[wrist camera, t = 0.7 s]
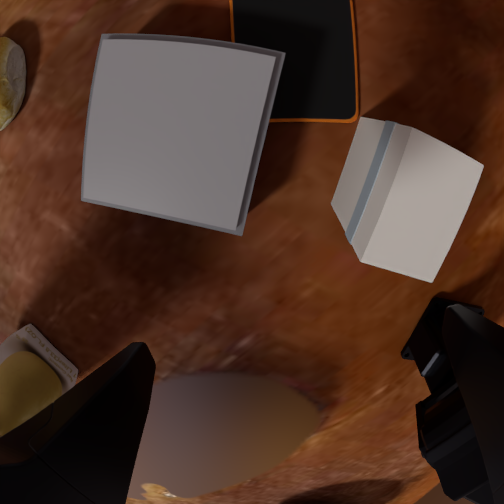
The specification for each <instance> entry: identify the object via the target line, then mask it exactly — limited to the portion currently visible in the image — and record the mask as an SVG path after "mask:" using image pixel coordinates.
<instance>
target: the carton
mask: <svg viewBox="0 0 504 504" xmlns="http://www.w3.org/2000/svg"><path fill="white" fill-rule="evenodd" d="M483 167H484V165H482V164H481V163H479V162H477V161H476V160H474V159H472V158H470V157H469V156H467V155H465V154H463V153H462V152H460V151H458V150H456V149H454V148H453V147H451V146H449V145H447V144H445V143H443V142H441V141H439V140H437V139H435V138H433V137H431V136H429V135H427V134H425V133H423V132H421V131H419V130H417V129H415V128H413V127H409V126H405V125H400V124H398V123H396V122H392V121H387V120H386V121H381V120H376V119H370V118H365V117H360V120H359V123H358V126H357V129H356V132H355V135H354V138H353V141H352V144H351V147H350V150H349V153H348V156H347V159H346V162H345V165H344V168H343V171H342V174H341V177H340V179H339V182H338V185H337V188H336V191H335V194H334V196H333V199H332V202H331V205H332V207H333V209H334V211H335V213H336V215H337V217H338V219H339V221H340V222H341V224H342V226H343V228H344V230H345V235H346V237H347V239H348V241H349V243H350V244H352V246H353V248H354V250H355V252H356V254H357V256H358V258H359V260H360V262H363V263H366V264H369V265H373V266H376V267H380V268H383V269H387V270H390V271H393V272H397V273H400V274H404V275H407V276H410V277H414V278H417V279H420V280H424V281H427V282H430V283H432V282H433V280H434V278H435V276H436V274H437V273H438V271H439V269H440V267H441V265H442V263H443V261H444V259H445V257H446V255H447V253H448V251H449V249H450V247H451V245H452V242H453V240H454V238H455V236H456V234H457V232H458V229H459V227H460V225H461V223H462V220H463V218H464V216H465V214H466V211H467V209H468V206H469V204H470V202H471V199H472V197H473V194H474V191H475V189H476V186H477V184H478V181H479V178H480V176H481V173H482V170H483Z"/></svg>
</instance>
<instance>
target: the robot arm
mask: <svg viewBox="0 0 504 504" xmlns="http://www.w3.org/2000/svg"><path fill="white" fill-rule="evenodd" d="M435 303H437V304H436V305H435ZM483 315H484V309H483V308H482V307H479V306H475V305H470V304H466V303H461V302H457V301H452V300H448V299H443V298H439V297H435V298H433V299H432V300H431V301H430V303H429V305H428V307H427V309H426V311H425V312H424V314H423V316H422V318H421V320H420V321H419V323H418V325H417V326H416V328H415V330H414V332H413V333H412V335H411V337H410V338H409V340H408V342H407V343H406V345H405V346H404V348H403V350H402V351H401V356H402V358H403V359H408V360H415V362H416V365H417V367H418V369H419V372H420V374H421V376H422V377H424V378H425V380H426V383H427V385H428V387H429V390H430V392H431V395H430V396H428V397H427V398H426V399H424V400H423V401H420V402H419V403H417V404H416V405H415V406H416V418H417V429H418V441H419V449H420V451H421V454H422V457H423V458H425V459H426V460H427V462H428V463H429V464H430V465H431V466H432V467H433V468H434V469H435V470H436V472H437V474H438V476H439V479H440V482H441V485H442V488H443V491H444V493H445V494H446V495H447V496H448V497H450V498H451V499H452V500H454V501H457V500H459V499H461V498H465V499H467V500H469V501H471V502H473V503H475V504H504V327H502V326H500V325H498V324H496V323H494V322H493V321H491V320H489V319H487V318H485V317H483ZM406 353H407V354H406ZM155 369H156V365H155V361H154V359H153V357H152V355H151V352H150V350H149V348H148V346H147V345H146V343H144V342H133V343H131V344H130V345H128V346H127V347H126V348H124V349H123V350H122V351H120V352H119V353H118V354H116V355H115V356H114V357H112V358H111V359H110V360H108V361H107V362H106V363H104V364H103V365H102V366H100V367H99V368H98V369H96V370H95V371H94V372H92V373H91V374H90V375H88V376H87V377H86V378H84V379H83V380H82V381H80V382H79V383H78V384H76V385H75V386H74V387H72V388H71V389H70V390H68V391H67V392H66V393H64V394H63V395H62V396H60V397H59V398H58V399H56V400H55V401H54V403H53V402H52V403H51V404H49V405H48V406H47V407H45V408H44V409H43V410H41V411H40V412H39V413H37V414H36V415H34V416H33V417H31V418H30V419H28V420H27V421H25V422H24V423H22V424H21V425H19V426H17V427H16V428H14V429H13V430H11V431H9V432H8V433H6V434H5V435H3V436H1V437H0V504H125V503H126V499H127V494H128V490H129V486H130V481H131V477H132V473H133V469H134V465H135V461H136V457H137V452H138V449H139V444H140V441H141V437H142V433H143V429H144V426H145V422H146V418H147V414H148V410H149V405H150V400H151V393H152V387H153V381H154V375H155Z"/></svg>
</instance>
